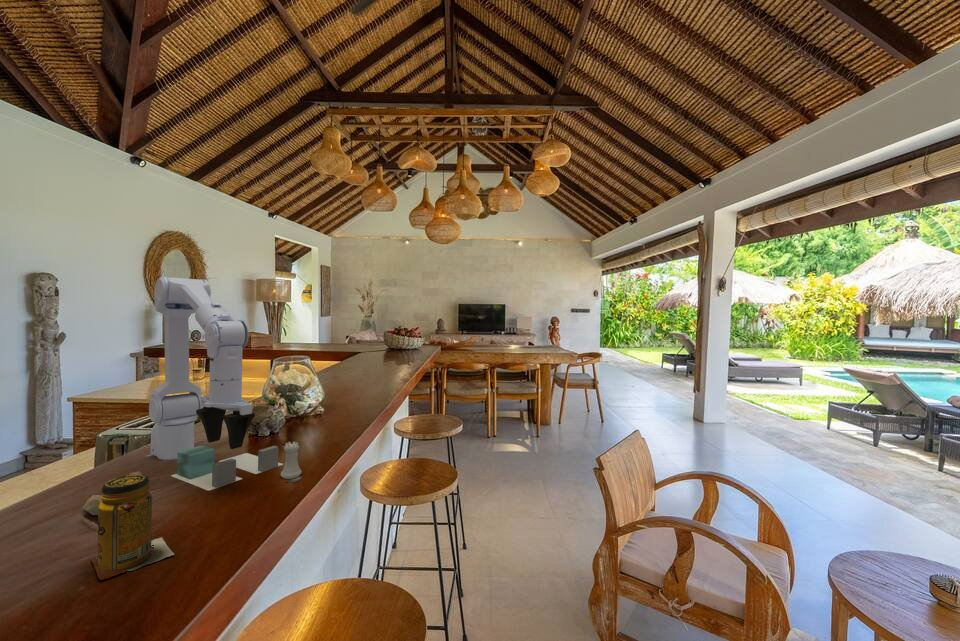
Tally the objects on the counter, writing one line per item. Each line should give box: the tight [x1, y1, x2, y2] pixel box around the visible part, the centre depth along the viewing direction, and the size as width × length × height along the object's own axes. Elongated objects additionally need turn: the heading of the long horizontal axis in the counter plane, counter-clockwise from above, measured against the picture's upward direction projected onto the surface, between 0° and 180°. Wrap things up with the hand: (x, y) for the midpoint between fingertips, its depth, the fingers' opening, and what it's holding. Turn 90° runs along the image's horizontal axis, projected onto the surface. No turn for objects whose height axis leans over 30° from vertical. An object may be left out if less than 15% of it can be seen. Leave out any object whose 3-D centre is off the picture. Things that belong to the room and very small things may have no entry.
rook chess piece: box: [280, 441, 303, 484], centre depth 92 cm, size 4×4×8 cm
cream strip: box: [170, 459, 243, 492], centre depth 89 cm, size 14×7×5 cm, turn 62°
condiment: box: [97, 474, 175, 572], centre depth 62 cm, size 7×8×12 cm
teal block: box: [176, 445, 216, 479], centre depth 91 cm, size 5×5×5 cm
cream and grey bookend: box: [217, 445, 284, 475], centre depth 98 cm, size 14×7×5 cm, turn 62°
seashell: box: [81, 470, 143, 516], centre depth 77 cm, size 8×17×5 cm, turn 38°
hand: (224, 444), depth 86 cm, fingers open, 7 cm apart
